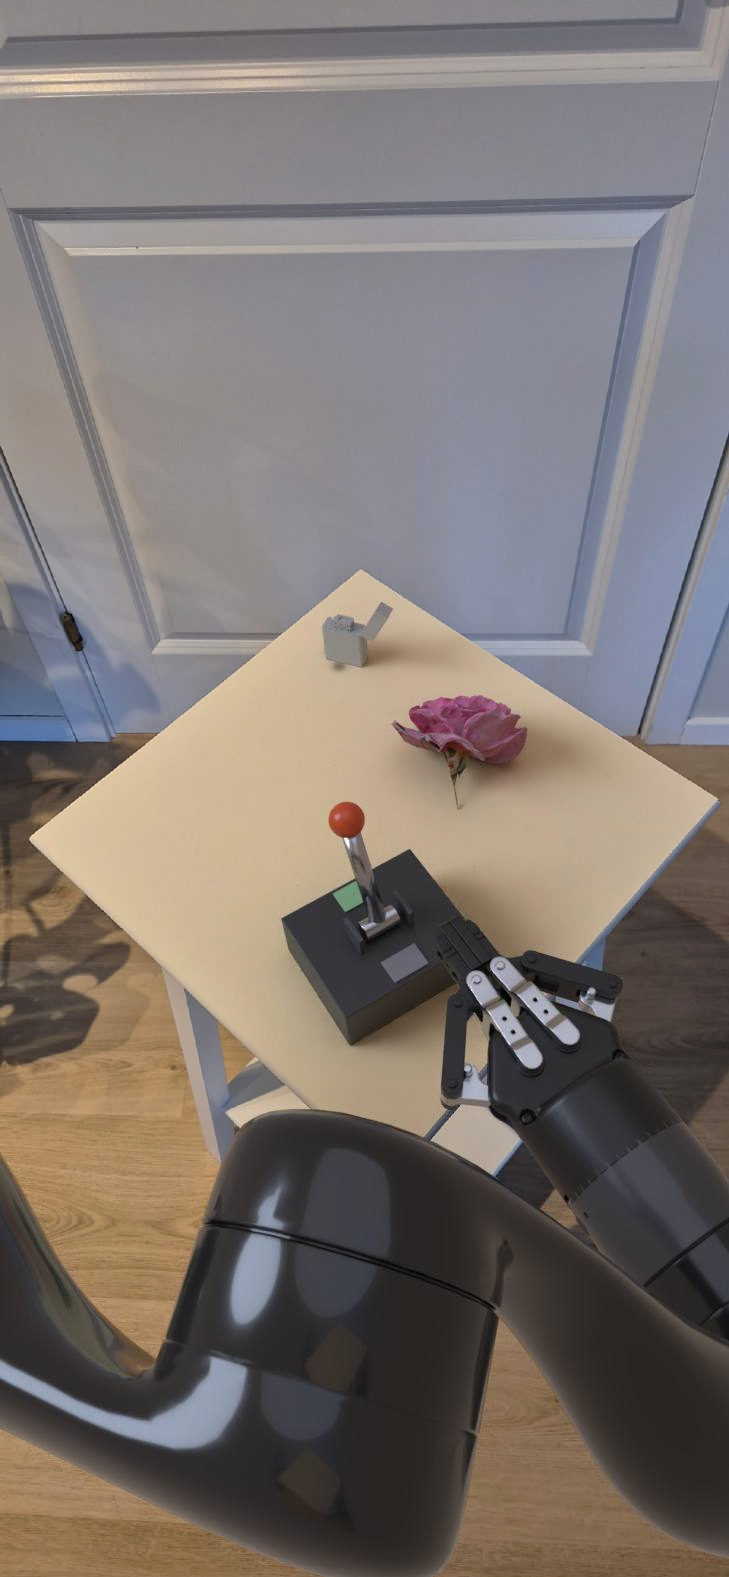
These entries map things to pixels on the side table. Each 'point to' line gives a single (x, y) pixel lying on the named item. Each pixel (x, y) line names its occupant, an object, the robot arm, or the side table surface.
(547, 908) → the side table surface
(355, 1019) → the switch box
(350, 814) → the toggle
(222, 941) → the side table surface
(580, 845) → the side table surface
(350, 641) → the lighter
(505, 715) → the flower
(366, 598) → the side table surface
